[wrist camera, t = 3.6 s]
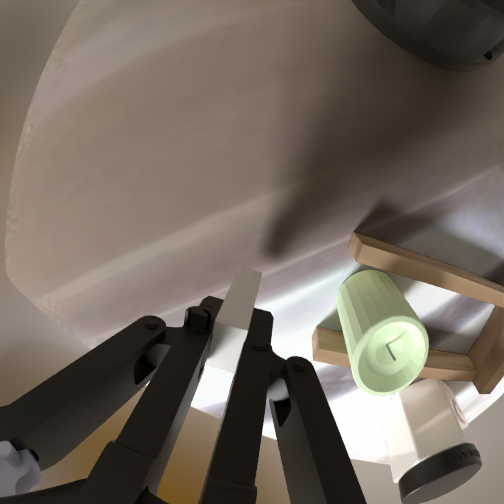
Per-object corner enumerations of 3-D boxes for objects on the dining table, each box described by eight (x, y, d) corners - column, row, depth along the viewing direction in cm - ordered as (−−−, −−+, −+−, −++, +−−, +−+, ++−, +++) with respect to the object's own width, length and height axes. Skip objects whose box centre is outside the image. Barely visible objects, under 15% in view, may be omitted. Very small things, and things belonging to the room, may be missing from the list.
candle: (342, 265, 20) (367, 328, 12) (401, 271, 19) (448, 329, 12) (330, 322, 22) (342, 397, 14) (386, 326, 21) (415, 394, 13)
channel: (353, 231, 19) (371, 255, 14) (513, 290, 18) (540, 313, 13) (311, 337, 22) (314, 378, 18) (471, 364, 21) (489, 393, 17)
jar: (458, 392, 23) (491, 466, 11) (406, 430, 25) (424, 506, 14) (427, 363, 22) (469, 457, 11) (367, 409, 25) (382, 503, 13)
